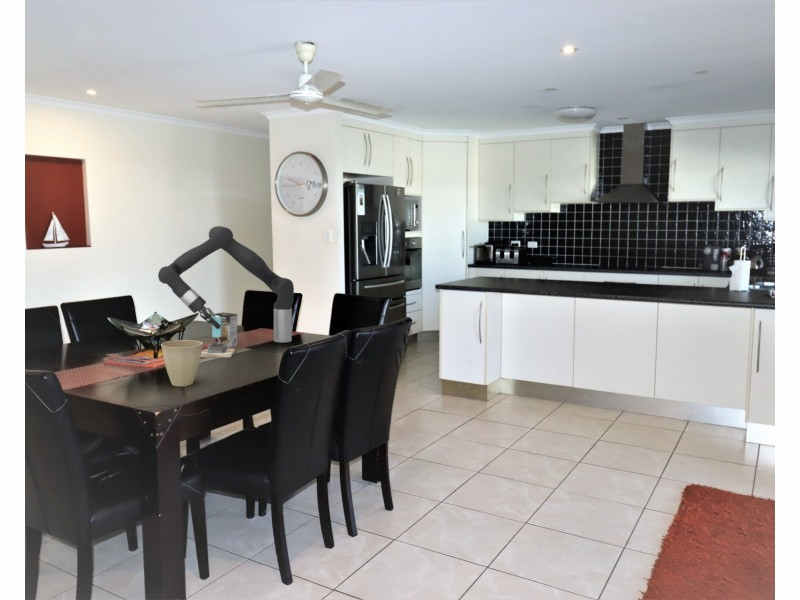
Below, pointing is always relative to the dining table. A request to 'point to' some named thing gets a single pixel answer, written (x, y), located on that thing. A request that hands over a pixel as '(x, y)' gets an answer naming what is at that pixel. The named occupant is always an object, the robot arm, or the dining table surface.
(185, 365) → the plant pot
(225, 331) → the coffee box
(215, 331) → the teal block
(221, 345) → the board
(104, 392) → the dining table surface
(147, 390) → the dining table surface
